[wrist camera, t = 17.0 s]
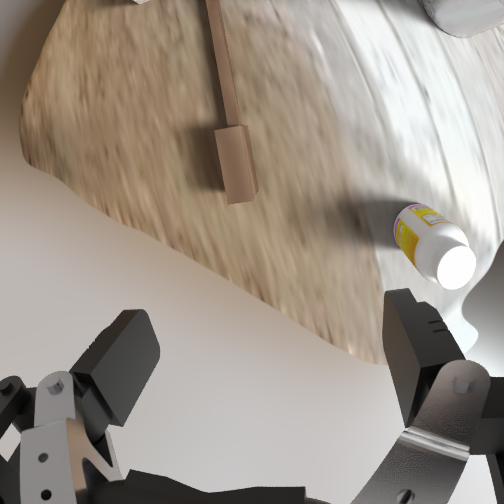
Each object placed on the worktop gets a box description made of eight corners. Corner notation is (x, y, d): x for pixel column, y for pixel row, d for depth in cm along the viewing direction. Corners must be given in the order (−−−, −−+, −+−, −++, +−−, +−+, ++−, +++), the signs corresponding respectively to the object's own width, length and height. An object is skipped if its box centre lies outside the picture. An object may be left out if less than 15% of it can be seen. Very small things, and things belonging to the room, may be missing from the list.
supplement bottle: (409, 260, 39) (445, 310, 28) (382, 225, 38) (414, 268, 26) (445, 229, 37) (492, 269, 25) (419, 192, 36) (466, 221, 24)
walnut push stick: (237, -25, 28) (228, -45, 23) (276, 187, 38) (272, 198, 33) (184, -11, 29) (168, -29, 24) (220, 195, 40) (208, 207, 34)
